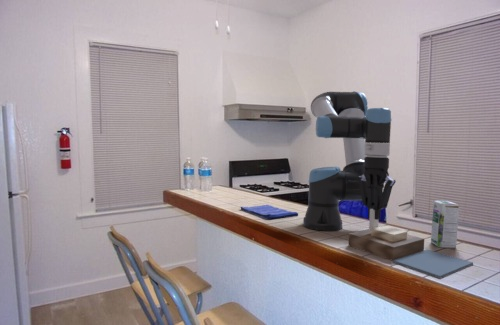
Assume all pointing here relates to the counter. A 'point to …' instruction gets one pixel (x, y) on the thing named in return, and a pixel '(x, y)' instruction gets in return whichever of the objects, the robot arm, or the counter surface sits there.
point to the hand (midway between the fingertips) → (373, 228)
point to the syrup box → (445, 224)
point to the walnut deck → (385, 245)
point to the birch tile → (389, 233)
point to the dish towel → (269, 212)
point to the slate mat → (433, 263)
